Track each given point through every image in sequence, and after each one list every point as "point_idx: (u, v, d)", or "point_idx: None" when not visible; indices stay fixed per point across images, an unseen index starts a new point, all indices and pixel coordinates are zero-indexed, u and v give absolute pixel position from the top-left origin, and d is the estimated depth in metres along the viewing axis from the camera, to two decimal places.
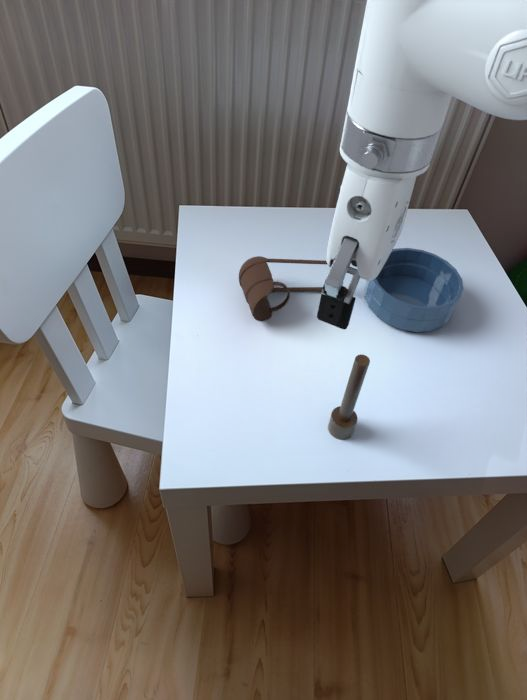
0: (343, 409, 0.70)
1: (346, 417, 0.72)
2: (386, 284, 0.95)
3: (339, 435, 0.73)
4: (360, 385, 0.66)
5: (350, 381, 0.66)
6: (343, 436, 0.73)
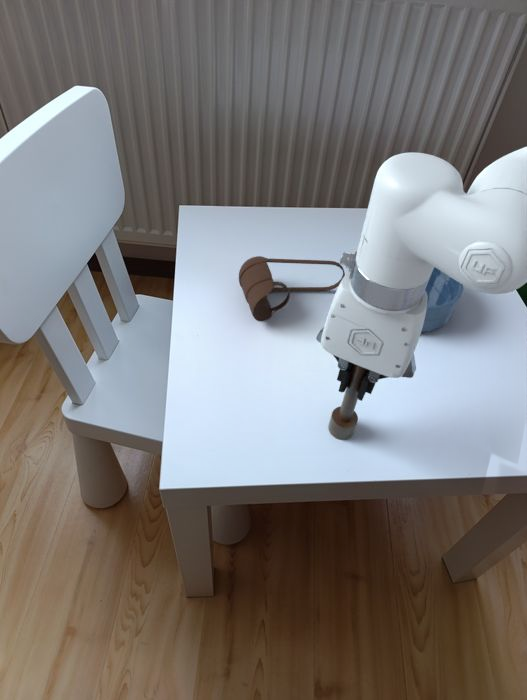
0: (344, 409, 0.70)
1: (346, 417, 0.71)
2: None
3: (340, 436, 0.73)
4: (360, 385, 0.66)
5: (350, 381, 0.66)
6: (343, 436, 0.73)
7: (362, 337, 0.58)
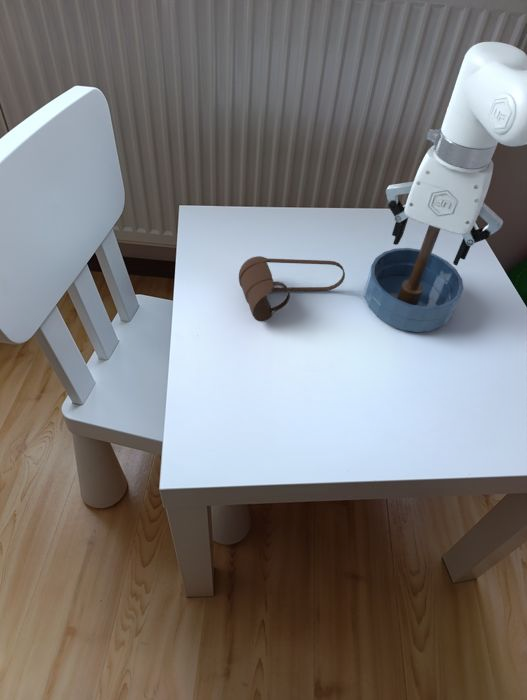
0: (414, 276, 0.88)
1: (415, 285, 0.89)
2: (386, 284, 0.95)
3: (408, 302, 0.91)
4: (430, 251, 0.84)
5: (422, 248, 0.84)
6: (411, 303, 0.91)
7: (440, 199, 0.75)
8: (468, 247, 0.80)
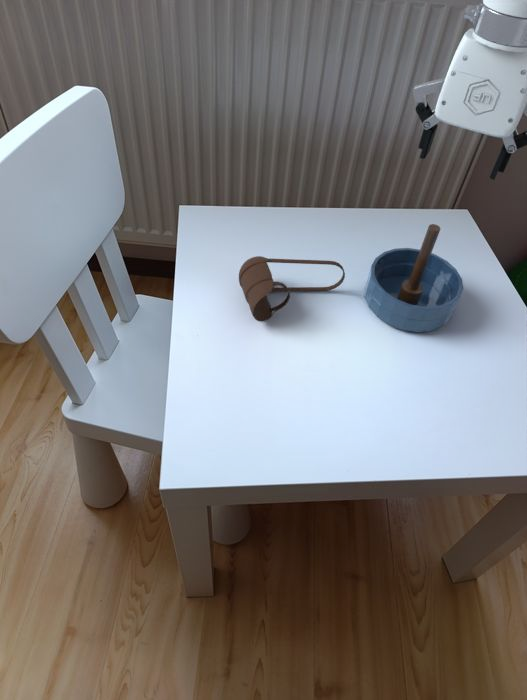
0: (414, 276, 0.88)
1: (415, 285, 0.89)
2: (386, 284, 0.95)
3: (408, 302, 0.91)
4: (430, 251, 0.84)
5: (422, 248, 0.84)
6: (411, 303, 0.91)
7: (479, 92, 0.64)
8: (508, 156, 0.69)
